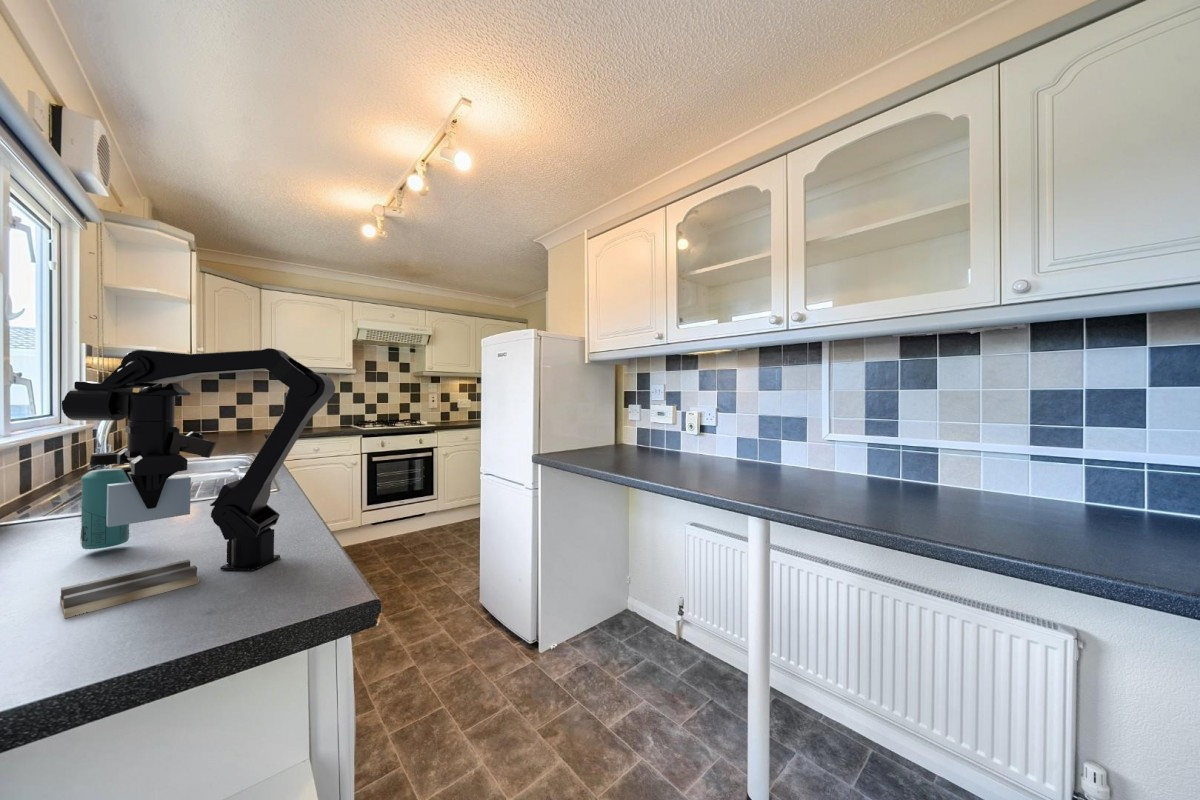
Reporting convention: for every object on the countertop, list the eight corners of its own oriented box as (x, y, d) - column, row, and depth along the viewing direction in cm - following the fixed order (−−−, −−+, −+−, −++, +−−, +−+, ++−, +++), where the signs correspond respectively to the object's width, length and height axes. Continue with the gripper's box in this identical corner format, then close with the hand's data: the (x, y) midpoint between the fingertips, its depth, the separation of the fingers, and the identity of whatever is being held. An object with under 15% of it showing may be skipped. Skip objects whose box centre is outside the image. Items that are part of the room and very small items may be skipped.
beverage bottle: (139, 546, 86) (140, 451, 86) (97, 558, 80) (99, 455, 80) (112, 544, 87) (113, 450, 87) (68, 556, 80) (70, 454, 80)
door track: (186, 571, 75) (186, 557, 75) (198, 583, 70) (198, 568, 70) (60, 601, 63) (60, 585, 63) (64, 618, 59) (64, 601, 59)
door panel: (187, 512, 79) (188, 476, 79) (190, 514, 78) (190, 477, 78) (106, 525, 71) (107, 484, 70) (108, 527, 69) (108, 485, 69)
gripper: (226, 422, 75) (224, 506, 75) (198, 417, 86) (197, 491, 86) (135, 424, 66) (134, 520, 66) (117, 419, 77) (115, 502, 77)
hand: (150, 507), depth 74 cm, fingers closed on door panel, 2 cm apart
